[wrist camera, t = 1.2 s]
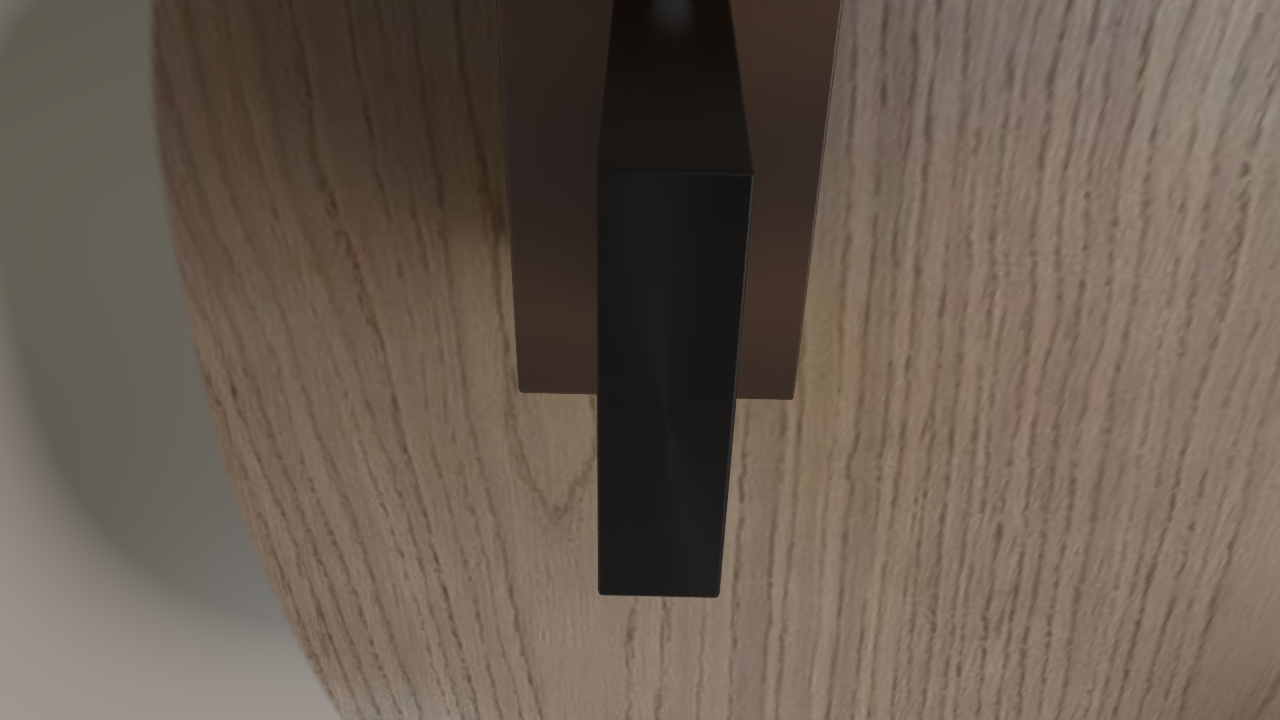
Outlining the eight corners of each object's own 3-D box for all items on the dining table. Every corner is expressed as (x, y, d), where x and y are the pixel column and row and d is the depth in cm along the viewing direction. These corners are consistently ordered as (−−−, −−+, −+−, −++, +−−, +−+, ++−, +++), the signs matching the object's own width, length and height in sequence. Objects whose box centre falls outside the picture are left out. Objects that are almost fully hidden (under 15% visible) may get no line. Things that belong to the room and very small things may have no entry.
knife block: (521, -270, 23) (483, -215, 18) (824, -264, 23) (869, -206, 18) (541, 252, 30) (518, 394, 25) (772, 258, 30) (793, 400, 25)
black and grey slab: (625, -148, 23) (595, 126, 12) (715, -146, 23) (759, 131, 12) (621, 204, 28) (597, 619, 17) (696, 206, 28) (717, 622, 17)
